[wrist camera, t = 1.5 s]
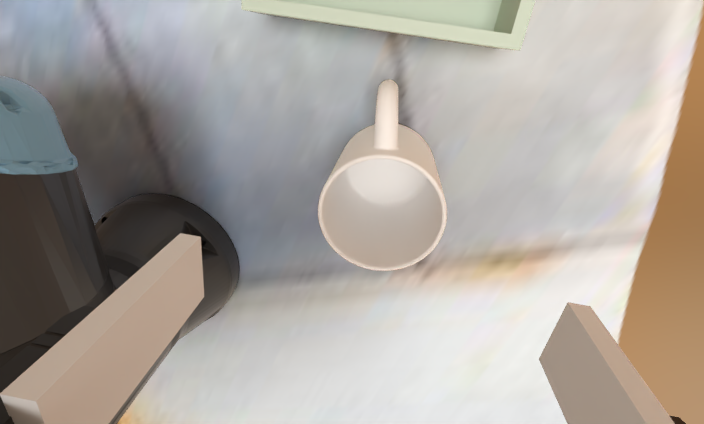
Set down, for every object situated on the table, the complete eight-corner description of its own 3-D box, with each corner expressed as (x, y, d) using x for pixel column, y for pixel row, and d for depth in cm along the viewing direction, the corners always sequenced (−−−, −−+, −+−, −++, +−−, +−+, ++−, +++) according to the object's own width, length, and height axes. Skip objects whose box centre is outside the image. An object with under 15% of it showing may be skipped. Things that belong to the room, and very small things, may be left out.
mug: (341, 71, 29) (314, 86, 20) (445, 74, 29) (465, 91, 19) (341, 205, 35) (318, 266, 25) (428, 211, 34) (438, 276, 24)
